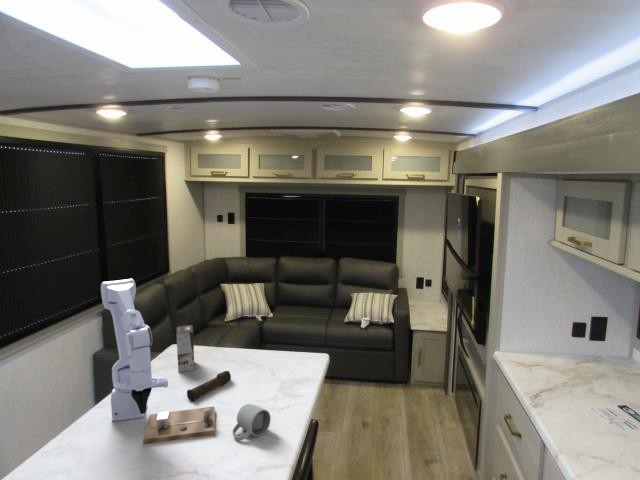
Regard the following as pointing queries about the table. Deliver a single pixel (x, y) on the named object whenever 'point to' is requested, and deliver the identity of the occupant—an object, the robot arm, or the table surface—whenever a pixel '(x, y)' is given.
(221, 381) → the hand tool
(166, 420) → the white rectangular block
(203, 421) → the wooden board
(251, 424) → the ceramic mug
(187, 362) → the coffee box
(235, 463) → the table surface
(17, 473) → the table surface
